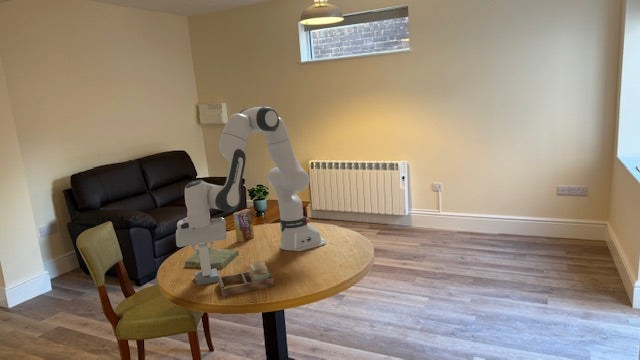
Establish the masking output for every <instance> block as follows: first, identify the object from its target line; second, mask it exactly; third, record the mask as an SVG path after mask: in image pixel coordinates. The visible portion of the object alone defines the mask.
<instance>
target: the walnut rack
mask: <svg viewBox="0 0 640 360" xmlns="http://www.w3.org/2000/svg"><path fill="white" fill-rule="evenodd" d="M249 271H250V270H247V271H243V272H238V273H233V274H228V275H223V276H219V277H218V286H219V289H220V291H221V295H222V297H228V296H232V295H237V294H238V295H239V294H243V293H247V292H248V293H249V292H251V291H257V290H262V289H266V288H271V287H275V278H274V276H273V274H272V272H271V271H270V269H269V268H268V267H267V272H268V273H269V276H270V279H265V280H260V281H255V282H252V281H251V282H248V281H247V280H251V277H250V275H249ZM235 282H236V283H238V282H242V284H236V285H231V286H227V287H226V286H225V285H226V284H231V283H235Z"/></svg>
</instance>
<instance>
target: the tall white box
mask: <svg viewBox="0 0 640 360" xmlns="http://www.w3.org/2000/svg"><path fill="white" fill-rule="evenodd" d="M208 247H209V246H208V242H207V243H201V244H197V249H199V257H200V264H201V268H200V269H201V270H200V271H202V275H203V276H207V275H212V274H211V266H210V258H209V251H208Z"/></svg>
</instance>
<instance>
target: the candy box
mask: <svg viewBox="0 0 640 360" xmlns="http://www.w3.org/2000/svg"><path fill="white" fill-rule="evenodd" d="M232 216H233V221H234V228H235V229H234V230H235V235H236V241H237V242H240V243H243V242H245V241H248V240H250V239H253V238H255V233H254V232H255V231H254V227H253V226H254V225H253V219H252V211H251V209H247V208H246V209H242V210H240V211H235V212H234V213H233V214H232Z"/></svg>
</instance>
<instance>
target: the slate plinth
mask: <svg viewBox="0 0 640 360" xmlns="http://www.w3.org/2000/svg"><path fill="white" fill-rule="evenodd" d="M217 269H218V268H212V269H211V274H212V275H207V276H203V275H202V271H201V270H200V271H195V272H194V277H195V284H196V287H198V286H202V285H208V284H213V283H219V281H218V277H220V276H219V273H218V271H217Z"/></svg>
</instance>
